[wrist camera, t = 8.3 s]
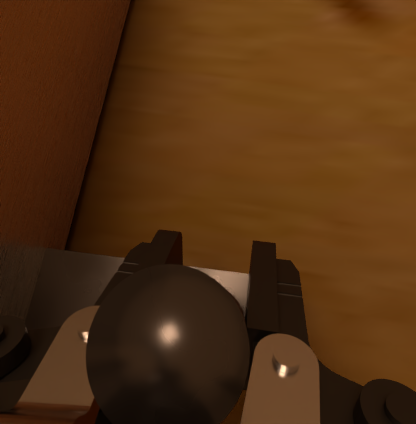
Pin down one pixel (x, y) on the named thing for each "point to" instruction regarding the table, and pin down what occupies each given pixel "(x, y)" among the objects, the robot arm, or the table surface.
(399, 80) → the table surface
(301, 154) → the table surface
